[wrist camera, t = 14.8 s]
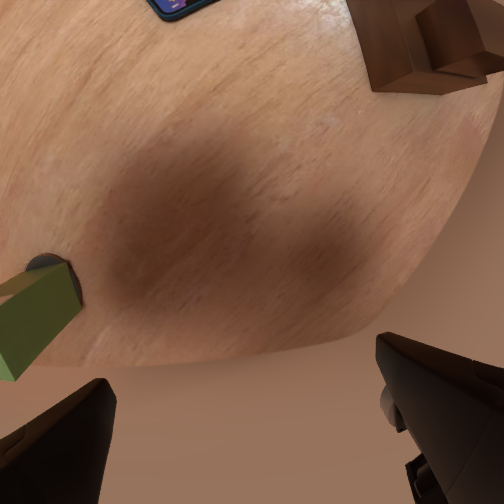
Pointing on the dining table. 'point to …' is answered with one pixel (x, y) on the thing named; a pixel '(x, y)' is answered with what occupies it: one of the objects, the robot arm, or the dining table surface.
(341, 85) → the dining table surface
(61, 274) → the packet
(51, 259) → the coaster
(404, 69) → the walnut stand
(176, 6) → the smartphone
